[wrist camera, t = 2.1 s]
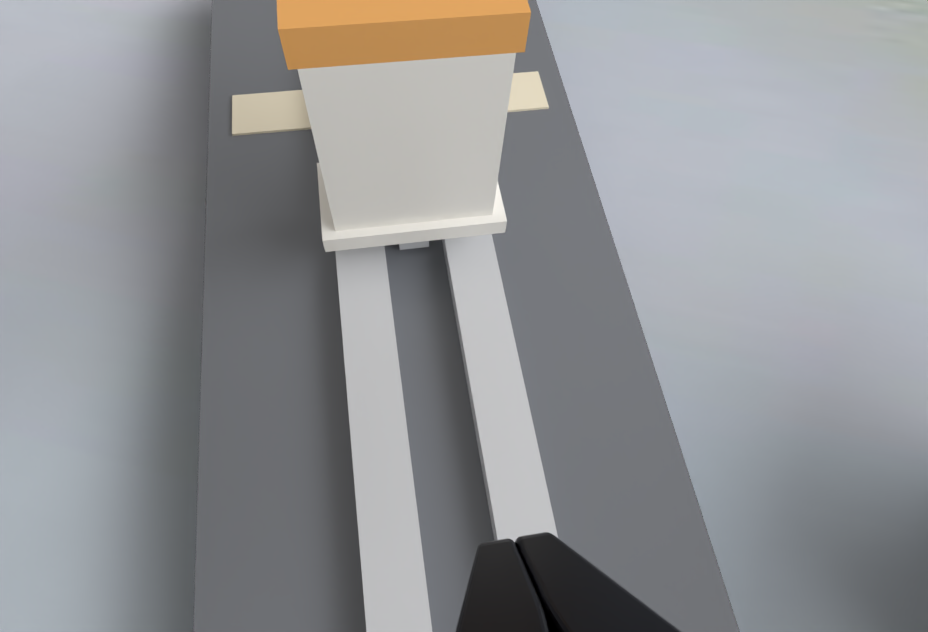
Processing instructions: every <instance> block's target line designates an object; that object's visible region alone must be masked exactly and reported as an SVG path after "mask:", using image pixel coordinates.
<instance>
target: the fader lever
mask: <svg viewBox="0 0 928 632" xmlns="http://www.w3.org/2000/svg"><path fill="white" fill-rule="evenodd" d="M530 17H531V10H530V7H529V4H528V1H527V0H277V23H278V32H279V36H280V40H281V44H282V48H283V52H284V56H285V60H286V64H287V68H288V70H293V69H297V70H298V74H299V78H300V82H301V87H302V91H303V95H304V99H305V104H306V108H307V112H308V117H309V121H310V125H311V129H312V134H313V138H314V142H315V146H316V151H317V155H318V159H319V163H317V172H318V186H319V200H320V214H321V228H322V241H323V245H324V249H325V252H330V251H340V250H349V249H358V248H367V247H376V246H386V245H395V244H399V248H400V250H404V249H413V248H422V247H429V241H432V240H441V239H450V238H460V237H469V236H478V235H487V234H497V233H505V230H506V225H507V218H506V214H505V210H504V206H503V201H502V197H501V193H500V189H499V184H498V174H499V167H500V160H501V153H502V146H503V140H504V133H505V126H506V119H507V112H508V105H509V98H510V91H511V84H512V77H513V71H514V64H515V57H516V53H520V52H525V48H526V42H527V35H528V29H529V23H530Z"/></svg>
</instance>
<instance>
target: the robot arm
mask: <svg viewBox="0 0 928 632" xmlns="http://www.w3.org/2000/svg"><path fill="white" fill-rule="evenodd" d="M455 632H682V631H680V630H679V629H678V628H676V627H675V626H674V625H672V624H671V623H670V622H668V621H667V620H666V619H665V618H663V617H662V616H661V615H659V614H658V613H657V612H655V611H654V610H653V609H651V608H650V607H649V606H647V605H646V604H645V603H643V602H642V601H641V600H639V599H638V598H637V597H635V596H634V595H633V594H631V593H630V592H629V591H627V590H626V589H625V588H624V587H622V586H621V585H620V584H618V583H617V582H616V581H614V580H613V579H612V578H610V577H609V576H608V575H606V574H605V573H604V572H602V571H601V570H600V569H598V568H597V567H596V566H594V565H593V564H592V563H590V562H589V561H588V560H586V559H585V558H584V557H583V556H581V555H580V554H579V553H577V552H576V551H575V550H573V549H572V548H571V547H569V546H568V545H567V544H565V543H564V542H563V541H561V540H560V539H559V538H557V537H556V536H555V535H553V534H551V533H549V532H543V533H537V534H531V535H525V536H520V537H518V538H517V539H516V541H515V542H514V541H513V540H511V539H508V538H507V539H501V540H494V541H488V542H483V543H480V544H479V545H478V547H477V549H476V552H475V556H474V560H473V564H472V568H471V572H470V576H469V580H468V584H467V588H466V592H465V596H464V599H463V603H462V607H461V611H460V615H459V619H458V623H457V627H456V631H455Z"/></svg>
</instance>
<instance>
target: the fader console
mask: <svg viewBox="0 0 928 632" xmlns="http://www.w3.org/2000/svg"><path fill="white" fill-rule="evenodd" d="M527 1H528V4H529V7H530V10H531V17H530V23H529V29H528V35H527V42H526V48H525V52H520V53H516V57H515V64H514V71H513V77H512V84H511V91H510V98H509V105H508V112H507V119H506V126H505V133H504V140H503V146H502V153H501V160H500V167H499V174H498V184H499V189H500V193H501V197H502V201H503V206H504V210H505V214H506V218H507V225H506V230H505V233H497V234H487V235H478V236H469V237H460V238H450V239H441V240H432V241H429V247H422V248H413V249H404V250H400V248H399V244H395V245H386V246H376V247H367V248H358V249H349V250H340V251H330V252H325V249H324V245H323V241H322V228H321V214H320V200H319V186H318V172H317V163H319V159H318V155H317V151H316V146H315V142H314V138H313V134H312V129H311V125H310V121H309V117H308V112H307V108H306V104H305V99H304V95H303V91H302V87H301V82H300V78H299V74H298V70H297V69H293V70H288V68H287V64H286V60H285V56H284V52H283V48H282V44H281V40H280V36H279V32H278V23H277V0H212V19H211V52H210V86H209V120H208V153H207V187H206V220H205V254H204V288H203V321H202V355H201V388H200V422H199V456H198V489H197V523H196V556H195V590H194V624H193V632H455V631H456V627H457V623H458V619H459V615H460V611H461V607H462V603H463V599H464V596H465V592H466V588H467V584H468V580H469V576H470V572H471V568H472V564H473V560H474V556H475V552H476V549H477V547H478V545H479V544H480V543H483V542H488V541H494V540H501V539H507V538H508V539H511V540H513V541H514V542H515V541H516V539H517V538H518V537H520V536H525V535H531V534H537V533H543V532H549V533H551V534H553V535H555V536H556V537H557V538H559V539H560V540H561V541H563V542H564V543H565V544H567V545H568V546H569V547H571V548H572V549H573V550H575V551H576V552H577V553H579V554H580V555H581V556H583V557H584V558H585V559H586V560H588V561H589V562H590V563H592V564H593V565H594V566H596V567H597V568H598V569H600V570H601V571H602V572H604V573H605V574H606V575H608V576H609V577H610V578H612V579H613V580H614V581H616V582H617V583H618V584H620V585H621V586H622V587H624V588H625V589H626V590H627V591H629V592H630V593H631V594H633V595H634V596H635V597H637V598H638V599H639V600H641V601H642V602H643V603H645V604H646V605H647V606H649V607H650V608H651V609H653V610H654V611H655V612H657V613H658V614H659V615H661V616H662V617H663V618H665V619H666V620H667V621H668V622H670V623H671V624H672V625H674V626H675V627H676V628H678V629H679V630H680V631H682V632H740V631H739V628H738V625H737V622H736V619H735V616H734V613H733V609H732V606H731V603H730V600H729V597H728V594H727V591H726V588H725V585H724V582H723V578H722V575H721V572H720V569H719V566H718V563H717V560H716V557H715V554H714V551H713V547H712V544H711V541H710V538H709V535H708V532H707V529H706V526H705V523H704V520H703V516H702V513H701V510H700V507H699V504H698V501H697V498H696V495H695V492H694V489H693V485H692V482H691V479H690V476H689V473H688V470H687V467H686V464H685V461H684V458H683V454H682V451H681V448H680V445H679V442H678V439H677V436H676V433H675V430H674V427H673V423H672V420H671V417H670V414H669V411H668V408H667V405H666V402H665V399H664V396H663V392H662V389H661V386H660V383H659V380H658V377H657V374H656V371H655V368H654V365H653V362H652V358H651V355H650V352H649V349H648V346H647V343H646V340H645V337H644V334H643V331H642V327H641V324H640V321H639V318H638V315H637V312H636V309H635V306H634V303H633V300H632V296H631V293H630V290H629V287H628V284H627V281H626V278H625V275H624V272H623V269H622V265H621V262H620V259H619V256H618V253H617V250H616V247H615V244H614V241H613V238H612V234H611V231H610V228H609V225H608V222H607V219H606V216H605V213H604V210H603V207H602V203H601V200H600V197H599V194H598V191H597V188H596V185H595V182H594V179H593V176H592V172H591V169H590V166H589V163H588V160H587V157H586V154H585V151H584V148H583V145H582V141H581V138H580V135H579V132H578V129H577V126H576V123H575V120H574V117H573V114H572V110H571V107H570V104H569V101H568V98H567V95H566V92H565V89H564V86H563V83H562V79H561V76H560V73H559V70H558V67H557V64H556V61H555V58H554V55H553V52H552V48H551V45H550V42H549V39H548V36H547V33H546V30H545V27H544V24H543V21H542V17H541V14H540V11H539V8H538V5H537V2H536V0H527Z"/></svg>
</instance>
